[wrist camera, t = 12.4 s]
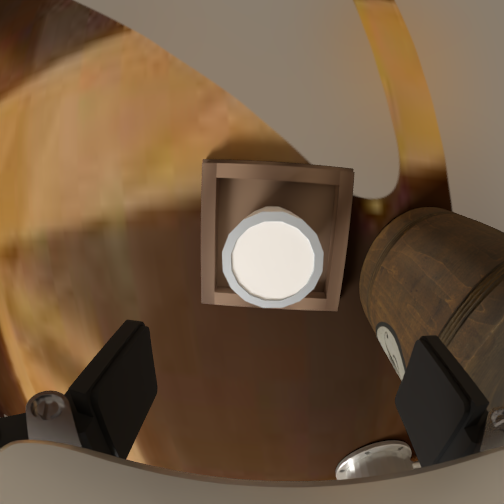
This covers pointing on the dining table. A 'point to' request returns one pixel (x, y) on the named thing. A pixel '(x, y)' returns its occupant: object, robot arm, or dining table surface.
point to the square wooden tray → (285, 196)
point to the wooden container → (439, 292)
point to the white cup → (272, 258)
